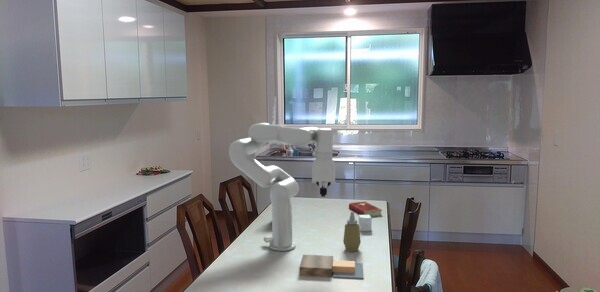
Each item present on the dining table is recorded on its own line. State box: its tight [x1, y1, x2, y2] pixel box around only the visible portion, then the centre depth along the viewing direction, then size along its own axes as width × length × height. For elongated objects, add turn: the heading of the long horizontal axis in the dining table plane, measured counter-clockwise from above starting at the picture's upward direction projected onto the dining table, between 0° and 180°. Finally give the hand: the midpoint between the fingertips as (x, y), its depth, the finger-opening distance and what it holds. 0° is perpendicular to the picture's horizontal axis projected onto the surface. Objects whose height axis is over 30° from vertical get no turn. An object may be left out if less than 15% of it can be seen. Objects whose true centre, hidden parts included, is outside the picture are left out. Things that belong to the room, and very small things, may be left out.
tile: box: [332, 259, 356, 273], centre depth 169 cm, size 9×6×2 cm, turn 84°
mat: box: [332, 262, 365, 280], centre depth 169 cm, size 12×14×1 cm
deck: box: [298, 254, 334, 278], centre depth 170 cm, size 13×13×4 cm
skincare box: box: [358, 214, 373, 232], centre depth 221 cm, size 6×6×7 cm
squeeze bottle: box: [343, 211, 362, 252], centre depth 191 cm, size 8×8×18 cm
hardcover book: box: [348, 200, 383, 218], centre depth 254 cm, size 12×21×4 cm, turn 19°
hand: (323, 196), depth 185 cm, fingers closed
